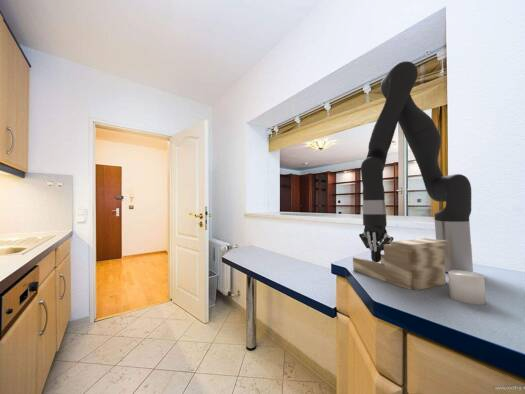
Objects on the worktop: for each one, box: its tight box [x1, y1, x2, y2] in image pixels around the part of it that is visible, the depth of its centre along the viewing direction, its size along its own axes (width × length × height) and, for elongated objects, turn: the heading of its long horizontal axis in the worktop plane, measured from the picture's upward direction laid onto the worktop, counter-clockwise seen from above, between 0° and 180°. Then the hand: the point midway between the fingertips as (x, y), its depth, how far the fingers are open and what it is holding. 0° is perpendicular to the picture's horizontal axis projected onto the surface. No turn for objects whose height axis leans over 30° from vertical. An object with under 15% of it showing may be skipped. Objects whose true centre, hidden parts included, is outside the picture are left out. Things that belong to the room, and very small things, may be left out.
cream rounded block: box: [447, 270, 487, 306], centre depth 53 cm, size 6×6×6 cm
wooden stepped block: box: [352, 237, 448, 291], centre depth 71 cm, size 16×22×12 cm
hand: (376, 261), depth 78 cm, fingers closed
